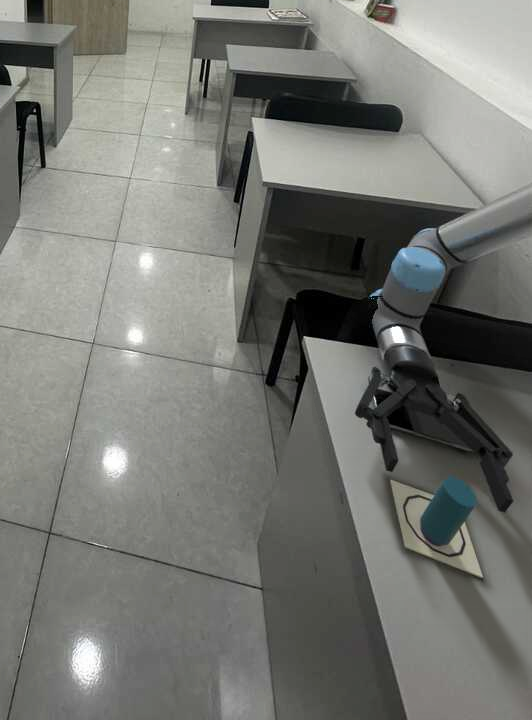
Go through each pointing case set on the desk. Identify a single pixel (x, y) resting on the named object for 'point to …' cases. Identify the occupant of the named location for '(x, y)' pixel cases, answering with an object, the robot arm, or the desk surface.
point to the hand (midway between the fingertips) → (447, 485)
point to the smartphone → (420, 424)
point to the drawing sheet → (409, 514)
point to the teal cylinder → (447, 511)
